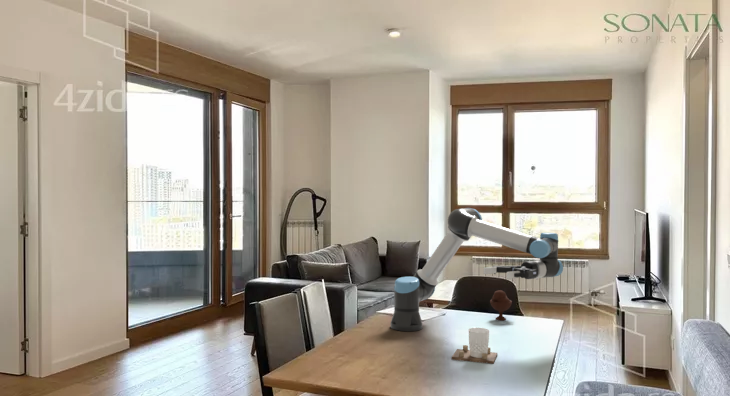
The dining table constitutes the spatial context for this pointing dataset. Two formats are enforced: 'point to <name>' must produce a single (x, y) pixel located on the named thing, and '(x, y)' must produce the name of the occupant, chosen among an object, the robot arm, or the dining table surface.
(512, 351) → the dining table surface
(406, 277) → the robot arm
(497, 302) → the ice cream bowl
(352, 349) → the dining table surface
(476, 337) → the white cup
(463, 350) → the holder
